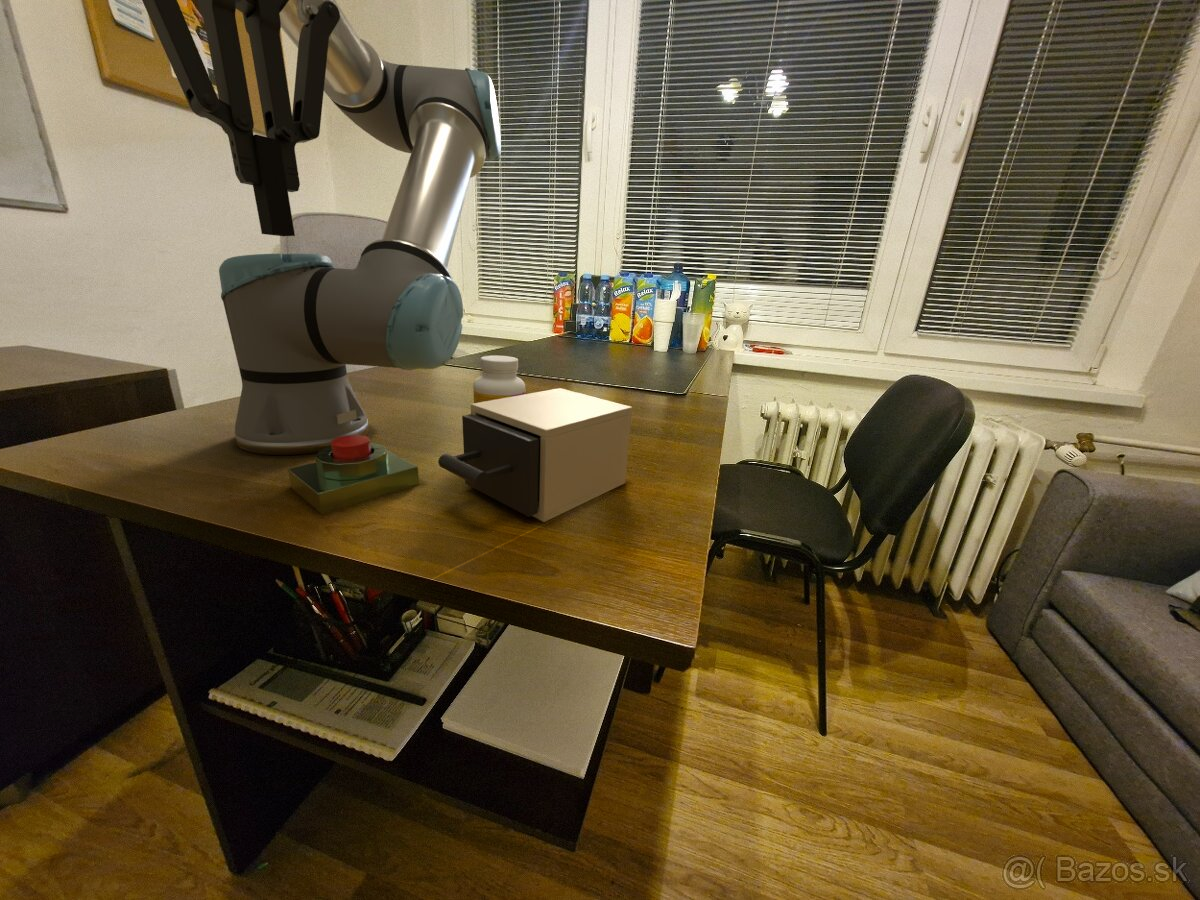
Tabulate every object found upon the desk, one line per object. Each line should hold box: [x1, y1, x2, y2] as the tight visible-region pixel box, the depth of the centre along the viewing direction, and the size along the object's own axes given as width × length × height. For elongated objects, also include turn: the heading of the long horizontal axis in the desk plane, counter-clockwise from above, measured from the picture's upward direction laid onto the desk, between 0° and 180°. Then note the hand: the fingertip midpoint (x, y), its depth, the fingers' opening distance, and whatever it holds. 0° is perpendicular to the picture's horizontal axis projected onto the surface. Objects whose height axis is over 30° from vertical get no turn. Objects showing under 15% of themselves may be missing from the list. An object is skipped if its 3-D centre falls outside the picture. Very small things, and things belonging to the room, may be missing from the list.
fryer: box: [470, 387, 633, 523], centre depth 50 cm, size 14×12×10 cm
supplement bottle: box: [472, 355, 527, 404], centre depth 58 cm, size 7×7×13 cm
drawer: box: [438, 413, 541, 518], centre depth 47 cm, size 17×10×8 cm, turn 141°
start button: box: [331, 435, 372, 460], centre depth 46 cm, size 4×4×2 cm
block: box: [287, 441, 420, 515], centre depth 47 cm, size 8×10×4 cm
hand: (278, 234), depth 35 cm, fingers closed
